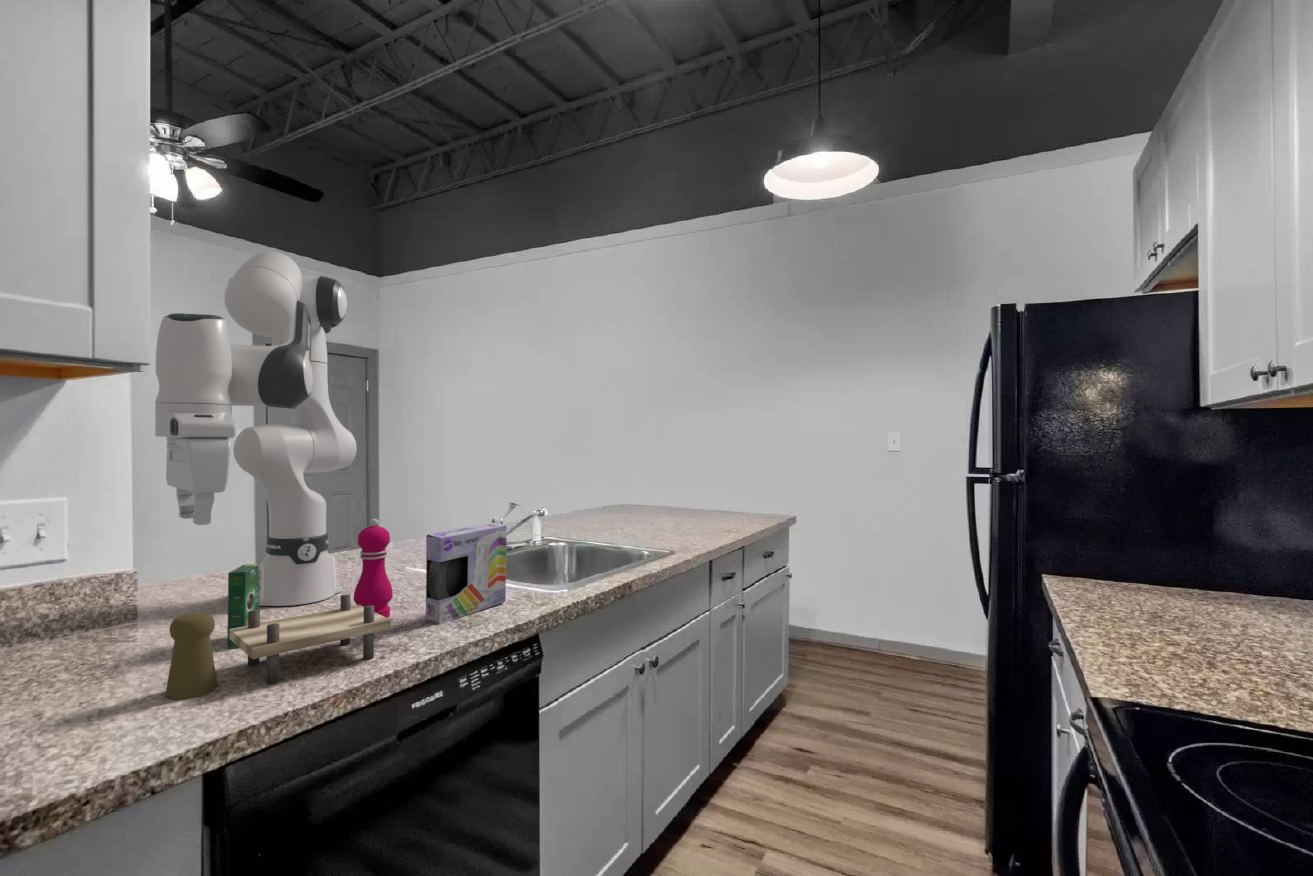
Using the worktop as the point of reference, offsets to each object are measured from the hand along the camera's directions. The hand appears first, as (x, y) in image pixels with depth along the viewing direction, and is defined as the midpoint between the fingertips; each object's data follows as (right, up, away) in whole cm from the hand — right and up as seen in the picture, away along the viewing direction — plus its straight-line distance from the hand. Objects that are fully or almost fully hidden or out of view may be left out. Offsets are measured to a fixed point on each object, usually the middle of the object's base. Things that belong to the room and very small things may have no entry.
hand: (194, 521), depth 89 cm
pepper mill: (+9, -25, +36) cm, 45 cm away
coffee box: (-7, -25, +22) cm, 34 cm away
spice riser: (+10, -25, +12) cm, 29 cm away
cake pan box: (+27, -25, +41) cm, 54 cm away
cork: (0, -25, 0) cm, 25 cm away
